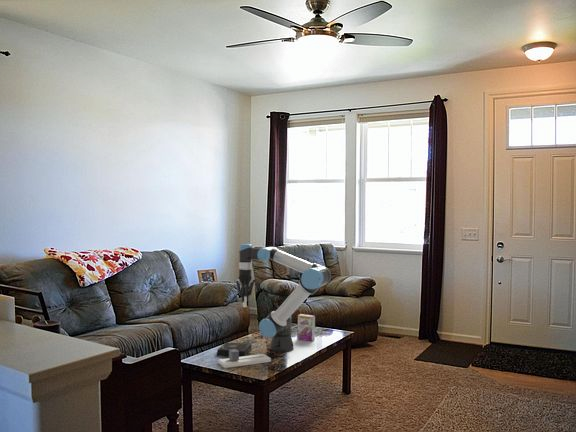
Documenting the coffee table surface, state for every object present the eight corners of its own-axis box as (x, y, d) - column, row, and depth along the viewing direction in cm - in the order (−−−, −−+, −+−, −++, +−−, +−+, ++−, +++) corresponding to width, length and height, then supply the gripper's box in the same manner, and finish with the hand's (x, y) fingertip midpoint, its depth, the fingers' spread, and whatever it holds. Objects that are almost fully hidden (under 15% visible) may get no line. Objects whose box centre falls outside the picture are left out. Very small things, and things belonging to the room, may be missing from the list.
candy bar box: (296, 339, 345) (297, 315, 345) (300, 337, 349) (300, 313, 349) (311, 341, 340) (312, 316, 340) (315, 340, 344) (315, 315, 344)
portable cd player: (224, 348, 321) (224, 342, 320) (251, 350, 318) (251, 344, 318) (216, 356, 304) (216, 349, 304) (244, 358, 301) (244, 351, 301)
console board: (263, 357, 302) (263, 353, 302) (270, 361, 294) (271, 357, 294) (218, 363, 289) (218, 359, 289) (224, 368, 281) (224, 364, 281)
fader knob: (235, 357, 291) (235, 349, 291) (238, 360, 287) (238, 351, 287) (228, 358, 290) (228, 349, 290) (232, 361, 285) (232, 352, 285)
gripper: (252, 267, 324) (251, 305, 324) (233, 268, 318) (232, 306, 318) (257, 269, 317) (256, 307, 318) (237, 270, 311) (237, 308, 312)
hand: (244, 306), depth 318 cm, fingers closed
